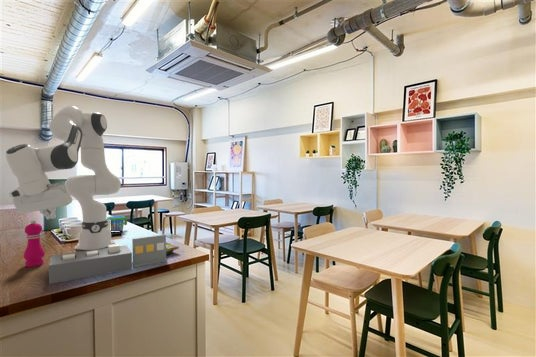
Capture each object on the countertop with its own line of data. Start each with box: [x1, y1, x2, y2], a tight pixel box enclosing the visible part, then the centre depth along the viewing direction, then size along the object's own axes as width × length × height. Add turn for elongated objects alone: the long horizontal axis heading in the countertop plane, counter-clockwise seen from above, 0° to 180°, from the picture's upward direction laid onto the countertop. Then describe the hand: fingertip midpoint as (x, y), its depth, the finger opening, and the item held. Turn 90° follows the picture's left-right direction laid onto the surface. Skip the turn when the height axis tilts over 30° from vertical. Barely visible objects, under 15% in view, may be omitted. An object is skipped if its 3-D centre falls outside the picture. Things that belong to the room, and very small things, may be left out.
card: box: [132, 234, 168, 268], centre depth 128 cm, size 5×14×12 cm, turn 124°
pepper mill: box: [23, 219, 46, 268], centre depth 125 cm, size 7×7×20 cm
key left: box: [63, 254, 75, 260], centre depth 113 cm, size 4×4×4 cm
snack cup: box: [107, 215, 128, 232], centre depth 188 cm, size 16×10×10 cm
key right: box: [107, 243, 121, 253], centre depth 122 cm, size 4×4×4 cm
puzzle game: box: [166, 241, 180, 255], centre depth 144 cm, size 12×5×20 cm
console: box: [48, 244, 133, 285], centre depth 118 cm, size 14×28×7 cm, turn 124°
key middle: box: [86, 249, 98, 256], centre depth 118 cm, size 4×4×4 cm
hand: (52, 218), depth 113 cm, fingers closed
